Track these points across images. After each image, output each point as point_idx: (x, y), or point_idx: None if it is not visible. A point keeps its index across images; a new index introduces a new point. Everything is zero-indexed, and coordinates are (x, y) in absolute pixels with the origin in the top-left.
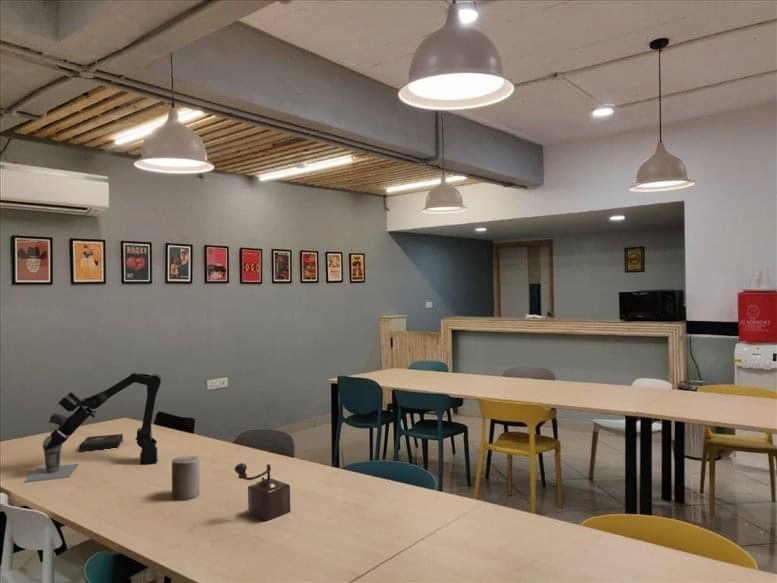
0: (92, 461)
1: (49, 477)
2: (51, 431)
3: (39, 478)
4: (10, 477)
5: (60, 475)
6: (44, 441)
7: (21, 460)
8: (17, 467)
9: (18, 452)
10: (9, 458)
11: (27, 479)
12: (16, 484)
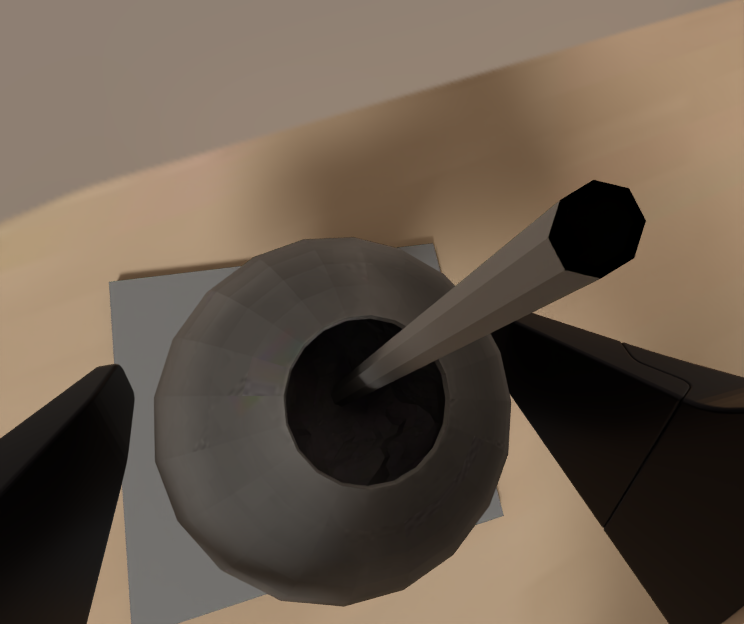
0: (579, 590)
1: (143, 452)
2: (449, 334)
3: (142, 374)
4: (286, 149)
5: (177, 530)
6: (233, 272)
7: (612, 99)
8: (490, 121)
9: (730, 47)
10: (643, 38)
11: (148, 288)
12: (83, 246)
